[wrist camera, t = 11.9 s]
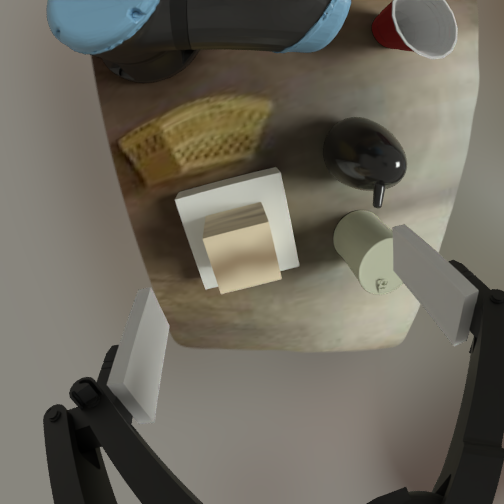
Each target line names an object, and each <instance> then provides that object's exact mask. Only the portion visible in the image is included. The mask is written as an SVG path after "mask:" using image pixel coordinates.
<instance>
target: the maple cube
mask: <svg viewBox="0 0 504 504" xmlns="http://www.w3.org/2000/svg"><path fill="white" fill-rule="evenodd" d="M203 242H204V245H205V248H206V251H207V254H208V257H209V260H210V263H211V266H212V269H213V272H214V275H215V278H216V281H217V284H218V287H219V290H220V292H221V294H223V293H228V292H232V291H236V290H240V289H244V288H248V287H252V286H256V285H260V284H264V283H268V282H272V281H276V280H280V279H282V278H281V273H280V269H279V264H278V260H277V255H276V251H275V246H274V242H273V238H272V233H271V229H270V225H269V221H268V218H267V216H266V213H265V211H264V208H263V205H262V203H261V202H258V203H254V204H250V205H246V206H243V207H239V208H235V209H231V210H227V211H223V212H219V213H216V214H212V215H208V216H206V217H205V224H204V231H203Z"/></svg>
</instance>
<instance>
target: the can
mask: <svg viewBox="0 0 504 504" xmlns="http://www.w3.org/2000/svg"><path fill="white" fill-rule="evenodd" d="M333 242H334V247H335V249H336V251H337V252H338V254H339V255H340V256H342V258H343V259H344V260H345V262H346V263H347V264H348V266H349V267H350V269H351V270H352V272H353V273H354V275H355V276H356V278H357V279H358V281H359V282H360V284H361V286H362V287H363V289H364V290H366V291H367V292H369V293H371V294H375V295H383V294H387V293H390V292H392V291H394V290H396V289H397V288H399V287H400V286H401V285H402V284H403V282H402V280H401V279H400V278H399V277H398V276H397V274H396V273H395V272H394V271H393V231H392V230H391V229H390V228H389V227H387V226H386V225H385V224H384V223H383V222H382V221H380V220H379V218H378V217H377V216H376V215H375V214H373V213H372V212H369V211H366V210H358V211H354V212H351V213H349V214H347V215H346V216H345V217H343V218H342V219H341V221H340V222H339V223H338V225H337V227H336V229H335V232H334V236H333Z"/></svg>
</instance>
